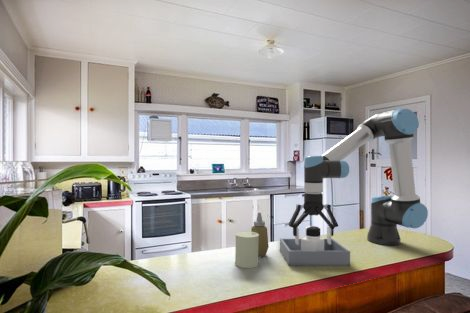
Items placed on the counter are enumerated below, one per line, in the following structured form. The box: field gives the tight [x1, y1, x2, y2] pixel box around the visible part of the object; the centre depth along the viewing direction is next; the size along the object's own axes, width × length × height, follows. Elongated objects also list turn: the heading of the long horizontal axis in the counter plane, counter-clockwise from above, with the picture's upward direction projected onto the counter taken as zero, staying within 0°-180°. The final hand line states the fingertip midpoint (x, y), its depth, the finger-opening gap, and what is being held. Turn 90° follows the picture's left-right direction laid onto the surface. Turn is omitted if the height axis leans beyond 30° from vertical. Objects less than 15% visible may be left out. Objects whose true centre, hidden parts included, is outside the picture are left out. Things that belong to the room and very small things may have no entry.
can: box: [234, 230, 259, 269], centre depth 116 cm, size 9×9×12 cm
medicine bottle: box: [300, 225, 325, 251], centre depth 124 cm, size 7×7×12 cm
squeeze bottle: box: [250, 212, 270, 258], centre depth 126 cm, size 8×8×18 cm
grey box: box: [279, 238, 351, 267], centre depth 124 cm, size 24×18×6 cm
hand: (313, 243), depth 124 cm, fingers open, 13 cm apart
